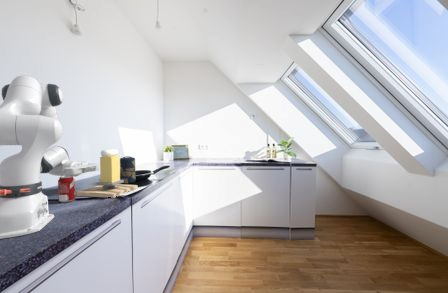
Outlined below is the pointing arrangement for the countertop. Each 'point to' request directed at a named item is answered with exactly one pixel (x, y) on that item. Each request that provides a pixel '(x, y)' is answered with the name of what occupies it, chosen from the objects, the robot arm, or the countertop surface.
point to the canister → (127, 169)
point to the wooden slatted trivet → (106, 190)
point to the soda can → (66, 189)
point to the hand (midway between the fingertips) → (94, 169)
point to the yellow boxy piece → (109, 168)
